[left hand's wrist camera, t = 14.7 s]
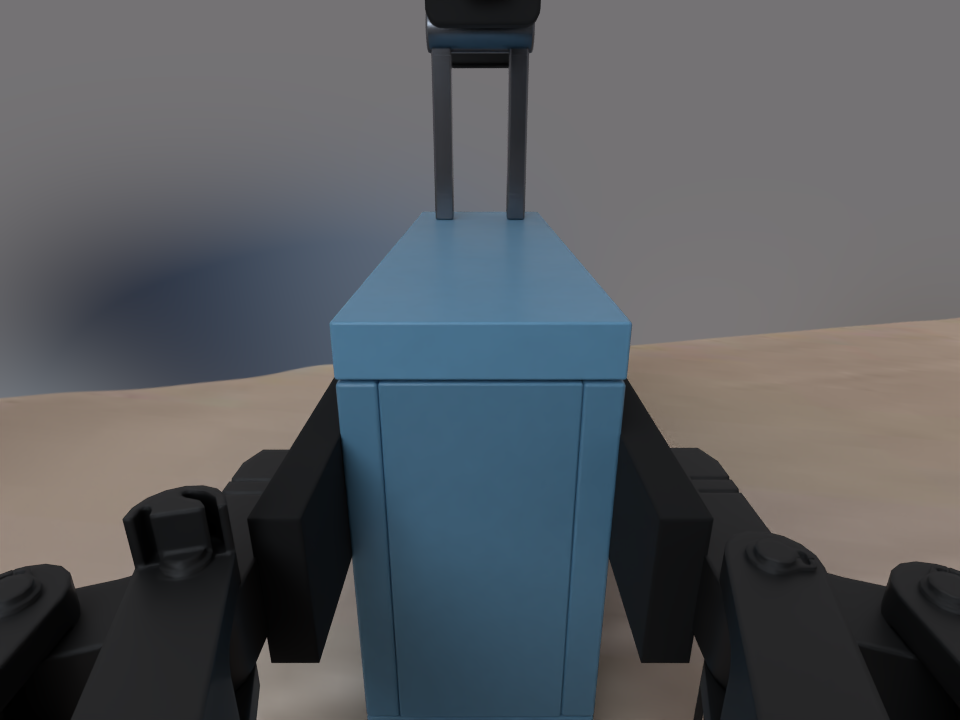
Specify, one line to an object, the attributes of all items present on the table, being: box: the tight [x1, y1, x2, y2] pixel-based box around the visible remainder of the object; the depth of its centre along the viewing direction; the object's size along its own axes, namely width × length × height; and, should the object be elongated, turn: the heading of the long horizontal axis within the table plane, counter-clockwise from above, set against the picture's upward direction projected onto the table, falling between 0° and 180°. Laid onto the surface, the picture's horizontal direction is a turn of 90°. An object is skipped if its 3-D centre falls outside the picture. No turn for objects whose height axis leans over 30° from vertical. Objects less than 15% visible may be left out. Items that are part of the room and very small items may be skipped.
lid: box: [330, 15, 632, 380], centre depth 16 cm, size 17×5×8 cm, turn 0°
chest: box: [336, 380, 626, 720], centre depth 19 cm, size 16×5×9 cm, turn 0°
